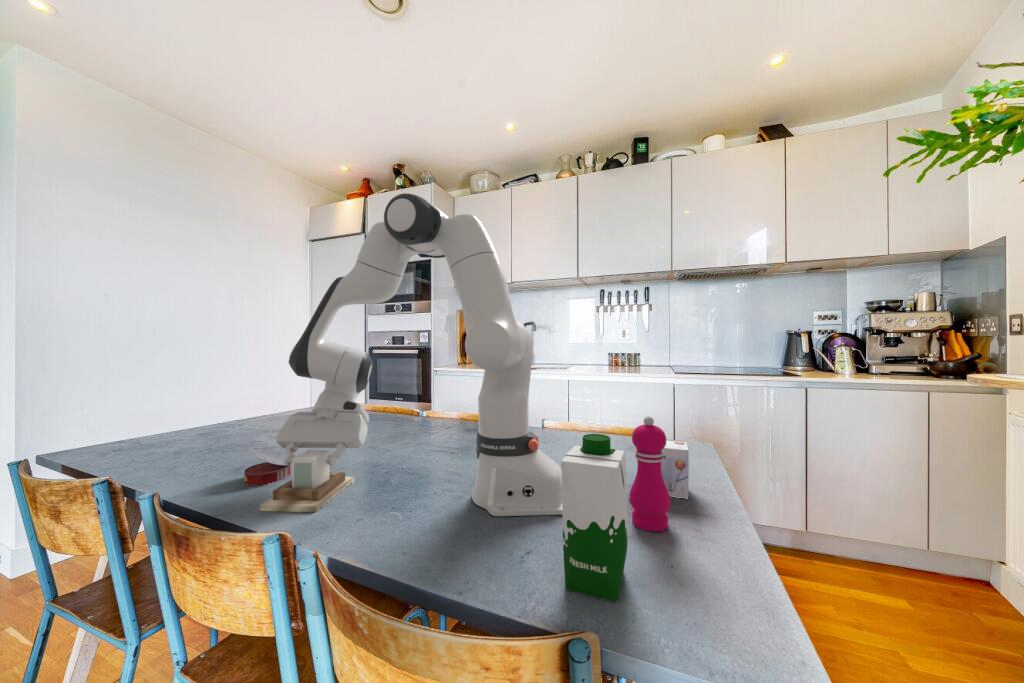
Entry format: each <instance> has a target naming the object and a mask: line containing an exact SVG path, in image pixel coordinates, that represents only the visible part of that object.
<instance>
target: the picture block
mask: <svg viewBox="0 0 1024 683" xmlns="http://www.w3.org/2000/svg"><path fill="white" fill-rule="evenodd" d="M328 455H330V451H329V450H322V449H320V450H307V451H305V452H303V453H301V454H299V455H295V457H294V458H292V465H291V480H292V488H317V487H318V486H320V485H321V484H323V483H324V482H326V481H327V480H329V479H330V475H329V472H330V465H327V464H326V459H327V456H328Z"/></svg>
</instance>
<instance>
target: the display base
mask: <svg viewBox="0 0 1024 683" xmlns="http://www.w3.org/2000/svg"><path fill="white" fill-rule="evenodd" d="M329 475H330V479H329V480H327V481H326V482H324V483H323V484H321V485H320V486H318V487H317V488H292V479H291V480H289V481H287V482H286V483H283V484H281V485H280V486H278V487H277V488H275V489H273V490H272V497H271V498H269V499H267V500H266V501H264V502H263V503H261V504H260V505H259V512H290V513H291V512H293V513H294V512H297V513H299V512H300V513H302V512H304V513H305V512H306V513H317V512H319V510H321V509H322V508H323V507H324V506H326V505H327V504H328V503H330V500H331V499H332V498H333V499H334V497H335V496H336V495H337V494H338V493H340V492H341V491H342V490H343V491H345V490H346V489H347V488H348V487H349V485H350V484H351V483H352V484H353V483H355V476H346V472H345V471H344V472H339V471H338V472H337V471H332V472H331V471H329ZM352 484H351V485H352ZM351 485H350V486H351ZM347 486H348V487H347ZM346 487H347V488H346ZM345 488H346V489H345ZM344 489H345V490H344ZM343 491H342V492H343ZM342 492H341V493H342ZM341 493H340V494H341ZM338 495H339V494H338ZM338 495H337V496H338ZM337 496H336V497H337ZM336 497H335V498H336ZM333 499H332V500H333ZM332 500H331V501H332ZM327 502H328V503H327ZM326 503H327V504H326ZM325 504H326V505H325ZM323 505H324V506H323ZM322 506H323V507H322ZM321 507H322V508H321ZM320 508H321V509H320ZM316 511H317V512H316Z"/></svg>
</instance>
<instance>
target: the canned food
mask: <svg viewBox="0 0 1024 683" xmlns="http://www.w3.org/2000/svg"><path fill="white" fill-rule="evenodd" d="M248 448H249V451H250V452H251V453H250V454H252V455H253V456H254V457H256V458H258V459H259V460H261V461H263V462H261V463H258V464H254V465H251V466H249V467H247V468H246V469H244V475H243V476H244V485H246V484H248V485H247V486H250V485H260V486H264V485H263V484H267V485H269V484H268V483H272V482H276V481H279V480H282V479H284V478H286V477H288V476H289V475H290V476H291V465H287V464H286V463H285V459H283V458H278V457H275V456H272V455H269V454H265V453H263V452H261V451H259V450H257V449H256V448H255V447H252V446H250V447H248ZM290 476H289V477H290ZM289 477H288V478H289ZM286 479H287V478H286ZM284 480H285V479H284ZM282 481H283V480H282ZM279 482H280V481H279ZM276 483H277V482H276ZM272 484H273V483H272Z"/></svg>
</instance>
